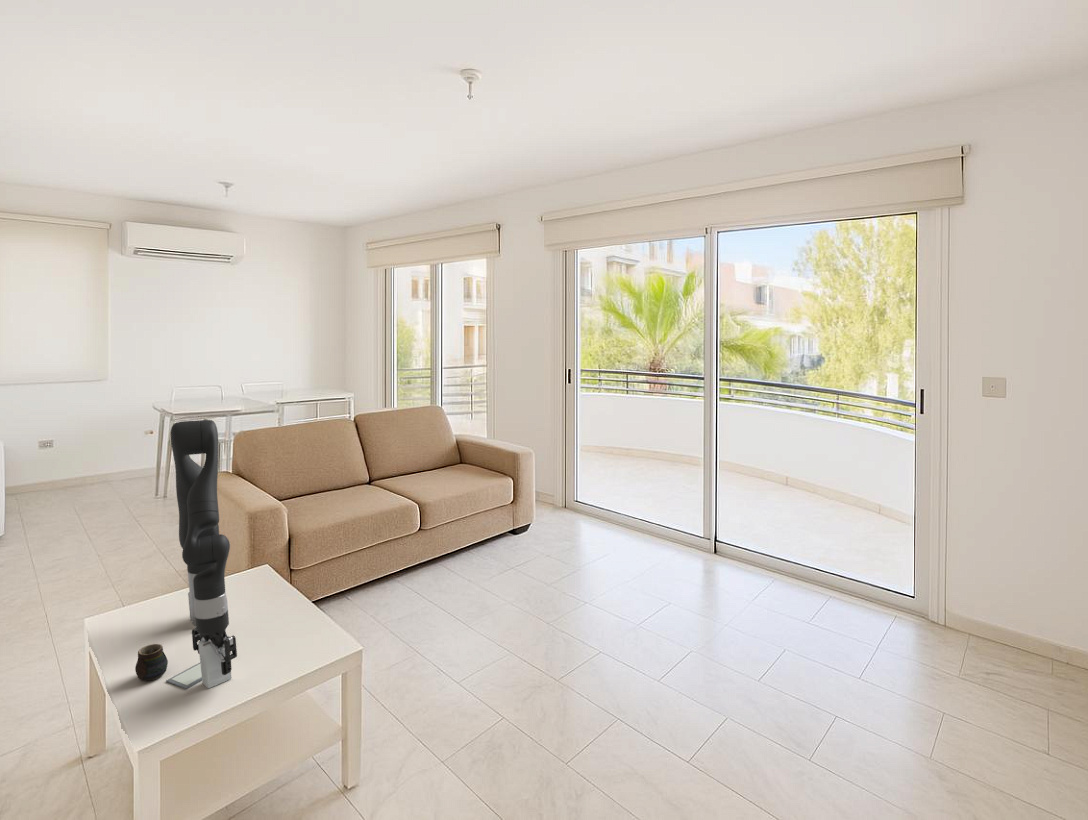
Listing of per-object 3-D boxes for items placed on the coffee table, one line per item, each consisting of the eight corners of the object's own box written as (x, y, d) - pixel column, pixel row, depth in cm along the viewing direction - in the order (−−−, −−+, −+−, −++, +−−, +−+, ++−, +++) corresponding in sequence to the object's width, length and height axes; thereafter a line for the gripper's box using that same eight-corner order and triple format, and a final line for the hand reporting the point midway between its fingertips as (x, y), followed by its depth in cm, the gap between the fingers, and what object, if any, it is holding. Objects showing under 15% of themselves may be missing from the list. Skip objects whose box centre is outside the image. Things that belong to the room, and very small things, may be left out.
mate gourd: (163, 665, 165) (160, 632, 164) (173, 676, 160) (170, 641, 159) (132, 677, 160) (129, 642, 158) (142, 688, 155) (139, 652, 153)
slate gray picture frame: (166, 681, 157) (166, 679, 157) (201, 662, 166) (201, 661, 166) (186, 689, 154) (185, 687, 154) (221, 669, 163) (221, 667, 163)
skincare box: (225, 673, 161) (222, 631, 160) (232, 679, 158) (229, 636, 157) (200, 683, 157) (197, 640, 155) (207, 690, 154) (204, 646, 152)
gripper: (179, 611, 154) (184, 670, 156) (216, 622, 148) (221, 684, 150) (206, 599, 161) (211, 656, 163) (243, 610, 155) (247, 668, 157)
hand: (216, 669), depth 157 cm, fingers open, 7 cm apart
